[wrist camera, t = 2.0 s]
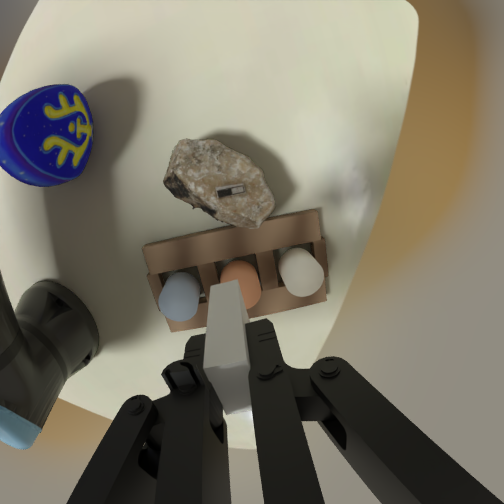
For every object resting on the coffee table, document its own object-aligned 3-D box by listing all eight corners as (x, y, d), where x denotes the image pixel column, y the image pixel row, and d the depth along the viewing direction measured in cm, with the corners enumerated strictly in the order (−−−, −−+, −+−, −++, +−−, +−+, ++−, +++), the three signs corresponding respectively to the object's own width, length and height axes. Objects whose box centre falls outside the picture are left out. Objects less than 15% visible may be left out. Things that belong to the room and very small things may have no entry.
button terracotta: (224, 297, 34) (225, 313, 30) (216, 264, 32) (215, 278, 29) (260, 289, 34) (264, 305, 30) (253, 256, 32) (257, 269, 29)
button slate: (171, 307, 34) (165, 324, 30) (160, 275, 32) (153, 290, 28) (204, 301, 34) (202, 317, 30) (195, 268, 32) (191, 282, 29)
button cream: (281, 285, 34) (287, 300, 30) (275, 252, 33) (281, 264, 29) (315, 277, 34) (325, 291, 30) (311, 244, 33) (322, 255, 29)
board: (169, 326, 36) (167, 332, 35) (141, 245, 32) (138, 249, 31) (326, 294, 37) (330, 299, 35) (317, 208, 33) (321, 210, 32)
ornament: (107, 176, 29) (32, 191, 15) (50, 185, 29) (-28, 206, 14) (106, 90, 26) (38, 56, 12) (50, 106, 25) (-26, 92, 11)
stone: (256, 228, 33) (265, 242, 26) (160, 191, 31) (144, 196, 24) (280, 172, 31) (295, 171, 25) (183, 134, 29) (173, 123, 22)
